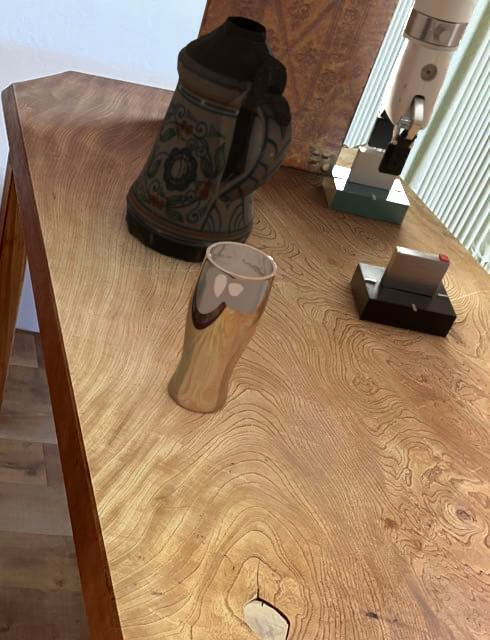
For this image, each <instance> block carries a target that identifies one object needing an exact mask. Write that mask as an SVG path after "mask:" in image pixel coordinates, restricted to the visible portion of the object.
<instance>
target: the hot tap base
mask: <svg viewBox="0 0 490 640" xmlns="http://www.w3.org/2000/svg"><path fill="white" fill-rule="evenodd" d="M385 269H386V267H382V266H378V265H373V264H369V263H364V262H358V263H357V265H356V267H355V270H354V272H353V274H352V276H351V278H350V281H349V287H350V291H351V294H352V297H353V302H354V304H355V308H356V313H357V316H358V320H360V321H363V322H367V323H368V322H370V323H374V324H378V325H382V326H388V327H393V328H397V329H401V330H407V331H411V332H417V333H420V334H424V335H425V334H426V335H430V336H434V337H435V336H436V337H439V338H445V339H446V338H447V337H448V335H449V332H450V331H451V330H452V327H453V325H454V324H455V322H456V320H457V318H458V316H457V313H456V311H455V308H454V306H453V303H452V301H451V299H450V296H449V294H448V291H447V290H446V287H445V285H444V283H443V280H442V281H441V283H440V285H439V287H438V289H437V291H436V293H435V295H434V296H433V297H432V296H427V295H423V294H418V293H413V292H409V291H404V290H399V289H395V288H390V287H385V286H383V285H382V282H381V278H382V276H383V274H384V271H385Z"/></svg>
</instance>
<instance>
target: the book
mask: <svg viewBox="0 0 490 640" xmlns="http://www.w3.org/2000/svg"><path fill="white" fill-rule="evenodd" d="M399 1H400V0H206V3H205V7H204V11H203V14H202V19H201V21H200V26H199V31H198V34H197V37H196V39H197V38H199V37H201V36H204V35H206V34H208V33H210V32H212V31H213V30H215V29H216V28H217V27H219V26H220V25H222V24H223V23H224V22H225V21H226V19H227V18H228V17H231V16H240V17H244V18H248V19H251V20H254V21H257V22H258V23H260V24H261V25H263V26H264V27H265V28H266V31H267V33H266V40H267V43H268V45H269V47H270V49H271V51H272V53H273V55H274V57H275V58H276V59H277V60H279V61H280V62H281V63H282V64H284V66H285V67H286V69H287V70H286V72H287V84H286V87H285V89H284V91H283V94H282V95H283V96H284V97H285V99H286V100H287V102H288V104H289V106H290V108H291V109H290V113H291V117H292V119H291V122H292V135H291V137H292V138H291V142H290V146H289V149H288V152H287V154H286V156H285V158H284V160H283V162H282V164H281V165H280V166H285V167H289V168H293V169H298V170H301V171H305V172H309V173H314V174H317V175H322V176H325V175H326V172H327V170H328V167H329V165H334V166H337V165H336V164H337V162H338V160H339V157H340V154H341V152H342V149H343V147H344V144H345V141H346V139H347V136H348V134H349V131H350V128H351V127H352V123H353V121H354V118H355V115H356V113H357V111H358V107H359V105H360V102H361V100H362V98H363V95H364V92H365V89H366V87H367V84H368V82H369V79H370V77H371V74H372V71H373V70H374V66H375V63H376V61H377V58H378V56H379V54H380V51H381V48H382V45H383V42H384V40H385V38H386V35H387V33H388V30H389V28H390V25H391V22H392V19H393V17H394V14H395V12H396V9H397V6H398V5H399Z"/></svg>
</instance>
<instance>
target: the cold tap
mask: <svg viewBox="0 0 490 640" xmlns="http://www.w3.org/2000/svg"><path fill="white" fill-rule="evenodd" d="M356 151H357V152H356V154H355V156H354V159H353V161H352V164H351V167H350V168H349V169H350V172H349V174H348V177H347V178H348V180H349V182H353V183H358V184H363V185H367V186H372V187H376V188H381V189H385V190H390V191H391V190H392V187H393V185H394V183H395V180H396V179H397V178H398V176H395V175H390V174H385V173H380V172H379V170H378V168H379V165H380V162H381V160H382V157H383V155H384V152H385V151H380V150H375V149H371V148H366V147H362V146H359V147H358V149H357V150H356Z"/></svg>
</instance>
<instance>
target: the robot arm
mask: <svg viewBox="0 0 490 640" xmlns="http://www.w3.org/2000/svg"><path fill="white" fill-rule="evenodd" d="M478 1H479V0H414V1H413V3H412V6H411V8H410V11H409V13H408V15H407V16H408V17H407V19H406V21H405V24H404V28H403V31H402V32H401V36H402V37H403V38H404V39H405V41H404V43H403V45H402V47H401V50H400V52H399V55H398V57H397V59H396V61H395V64H394V66H393V68H392V71H391V74H390V77H389V79H388V82H387V84H386V87H385V90H384V93H383V97H382V105H381V107H380V108H379V111H378V114H377V115H378V116H376V118H375V122H374V124H373V127H372V129H371V132H370V135H369V138H368V140H367V146H368V147H369V148H373V149H374V148H375V149H379V150H384V151H383V152H384V155H383V157H382V160H381V162H380V165H379V168H378V170H379V172H380V173H385V174H390V175H395V176H397V177H399V176H401V175H402V172H403V170H404V168H405V165H406V163H407V160H408V158H409V156H410V153H411V150H412V149H413V147H414V145H415V141H416V140H417V138H418V135H419V134H418V133H419V132H420V131H424V130H426V129H427V128H428V125H429V123H430V121H431V119H432V115H433V113H434V110H435V107H436V105H437V102H438V99H439V97H440V94H441V92H442V88H443V87H444V84H445V83H444V82H445V80H446V78H447V73H448V70H449V68H450V64H451V60H452V56H453V52H457V51H458V50H459V47H460V44H461V42H462V40H463V38H464V35H465V32H466V30H467V28H468V25H469V23H470V20H471V18H472V16H473V15H474V14H473V13H474V11H475V9H476V6H477V5H478V4H477V3H478ZM401 129H402V131H401Z"/></svg>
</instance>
